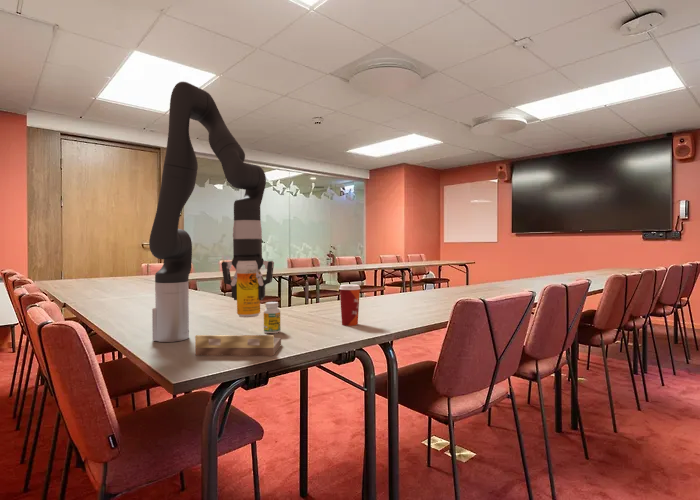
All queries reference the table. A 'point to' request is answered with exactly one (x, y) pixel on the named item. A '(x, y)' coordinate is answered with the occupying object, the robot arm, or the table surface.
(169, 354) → the table surface
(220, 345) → the tan wooden block
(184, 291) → the robot arm
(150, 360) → the table surface
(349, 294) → the paper cup
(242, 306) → the orange vitamin bottle
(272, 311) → the supplement bottle
